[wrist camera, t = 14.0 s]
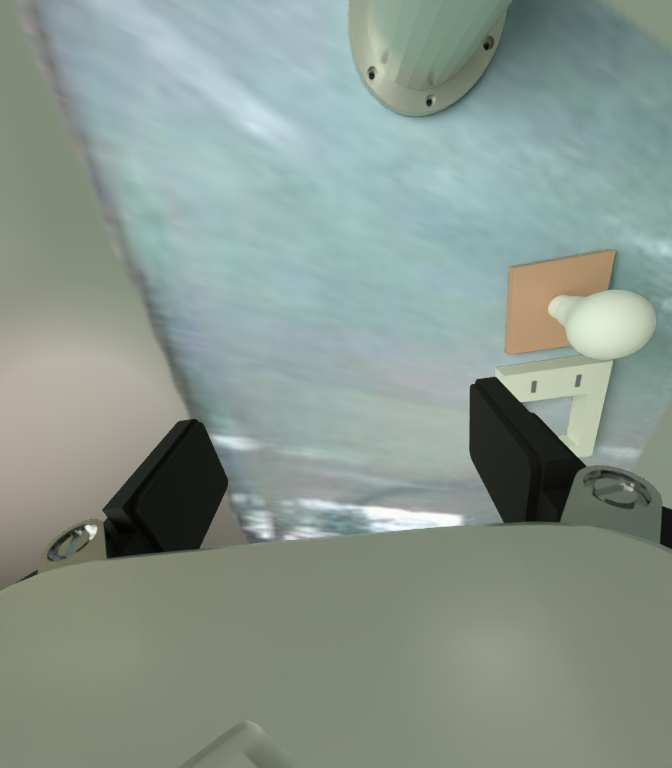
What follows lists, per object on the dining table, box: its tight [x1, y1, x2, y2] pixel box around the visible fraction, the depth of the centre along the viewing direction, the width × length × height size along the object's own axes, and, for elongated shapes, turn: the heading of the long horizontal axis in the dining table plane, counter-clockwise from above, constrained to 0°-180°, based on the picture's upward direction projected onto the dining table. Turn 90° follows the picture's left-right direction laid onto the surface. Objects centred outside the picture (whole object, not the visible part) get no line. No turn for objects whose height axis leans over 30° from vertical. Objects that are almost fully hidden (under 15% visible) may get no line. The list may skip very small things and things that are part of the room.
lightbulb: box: [548, 289, 657, 360], centre depth 30 cm, size 6×6×11 cm
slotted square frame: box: [495, 355, 613, 457], centre depth 41 cm, size 14×12×3 cm
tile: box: [505, 250, 616, 355], centre depth 36 cm, size 10×10×1 cm
